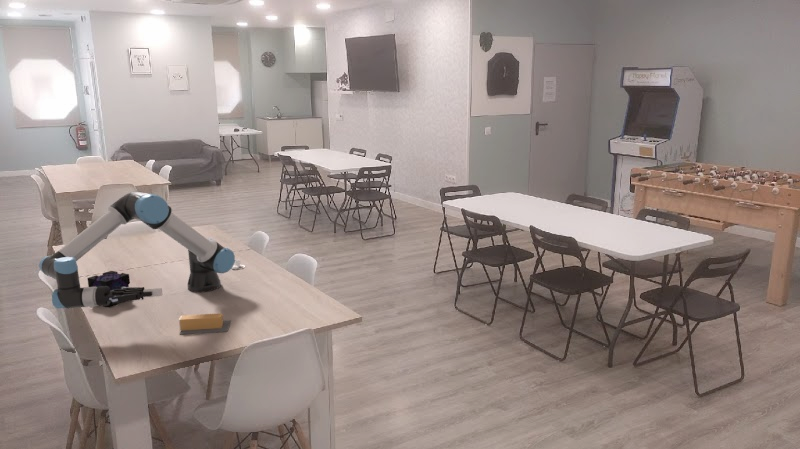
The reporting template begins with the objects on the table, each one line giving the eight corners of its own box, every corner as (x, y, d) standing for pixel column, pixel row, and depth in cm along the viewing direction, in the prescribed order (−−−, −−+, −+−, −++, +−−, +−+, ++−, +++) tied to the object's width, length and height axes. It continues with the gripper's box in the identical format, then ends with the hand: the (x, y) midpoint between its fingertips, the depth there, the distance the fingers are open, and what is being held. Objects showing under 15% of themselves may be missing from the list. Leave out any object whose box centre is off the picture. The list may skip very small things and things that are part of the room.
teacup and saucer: (235, 271, 315) (234, 263, 314) (225, 268, 320) (225, 261, 319) (248, 267, 322) (248, 260, 321) (239, 264, 327) (238, 257, 326)
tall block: (178, 319, 236) (220, 317, 238) (181, 315, 240) (222, 313, 242) (179, 330, 237) (221, 327, 239) (182, 326, 241) (223, 323, 243)
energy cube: (114, 295, 279) (111, 270, 276) (131, 299, 274) (128, 274, 271) (90, 303, 269) (87, 277, 266) (108, 307, 263) (105, 281, 261)
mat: (179, 334, 234) (179, 333, 234) (185, 323, 244) (185, 322, 244) (227, 331, 236) (227, 330, 236) (230, 321, 247) (230, 320, 247)
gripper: (104, 299, 238) (166, 295, 242) (93, 311, 226) (158, 307, 229) (101, 281, 237) (164, 277, 240) (90, 293, 224) (156, 288, 227)
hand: (161, 292), depth 234 cm, fingers closed
